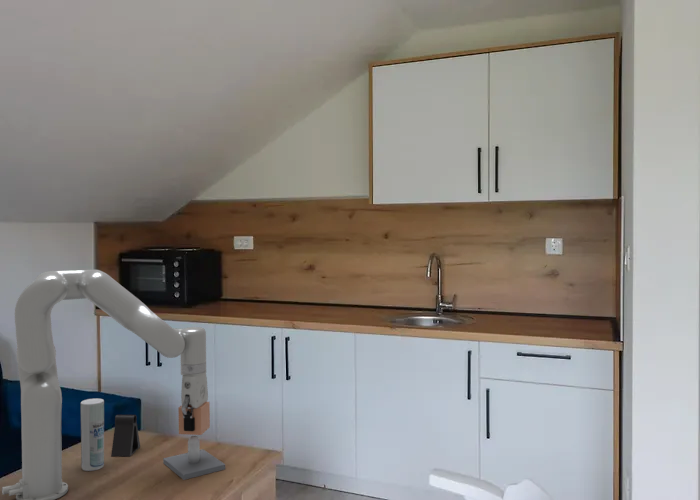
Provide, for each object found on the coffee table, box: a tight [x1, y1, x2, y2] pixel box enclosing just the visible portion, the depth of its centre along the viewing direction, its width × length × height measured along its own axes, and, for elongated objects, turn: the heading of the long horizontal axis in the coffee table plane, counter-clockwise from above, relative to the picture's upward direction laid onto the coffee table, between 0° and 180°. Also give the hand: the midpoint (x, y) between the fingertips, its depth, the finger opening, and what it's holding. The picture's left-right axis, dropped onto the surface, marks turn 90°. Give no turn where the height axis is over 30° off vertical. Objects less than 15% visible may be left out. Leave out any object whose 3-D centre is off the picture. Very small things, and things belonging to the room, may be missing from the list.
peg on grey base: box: [162, 435, 226, 481], centre depth 182 cm, size 13×16×9 cm
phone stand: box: [110, 414, 141, 458], centre depth 194 cm, size 9×6×12 cm, turn 178°
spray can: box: [80, 398, 105, 472], centre depth 181 cm, size 6×6×20 cm
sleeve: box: [177, 401, 211, 436], centre depth 181 cm, size 7×7×8 cm
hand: (194, 426), depth 181 cm, fingers closed on sleeve, 7 cm apart
